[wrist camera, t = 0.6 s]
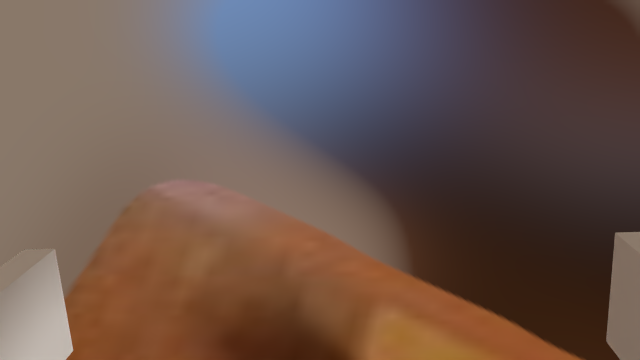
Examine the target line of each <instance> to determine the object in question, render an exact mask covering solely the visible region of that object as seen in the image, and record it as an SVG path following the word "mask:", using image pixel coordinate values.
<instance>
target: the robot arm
mask: <svg viewBox="0 0 640 360" xmlns="http://www.w3.org/2000/svg"><path fill="white" fill-rule="evenodd" d="M606 340H607V343H608V344H609V345H610V347H611V348H612V349H613V351H614V352H615V353H616V354H617V356H618V357H619V358H620V360H640V232H626V233H615V243H614V255H613V267H612V279H611V291H610V304H609V316H608V328H607V339H606ZM72 351H73V347H72V342H71V336H70V330H69V325H68V319H67V314H66V308H65V303H64V297H63V291H62V286H61V280H60V275H59V269H58V264H57V258H56V253H55V249H36V250H35V249H33V250H23V251H22V252H20V253H19V254H18V255H16V256H15V257H13V258H12V259H11V260H10V261H8V262H7V263H5V264H4V265H2V266H1V267H0V360H66V358H67V357H68V356H69V355H70V354H71V352H72Z"/></svg>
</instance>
